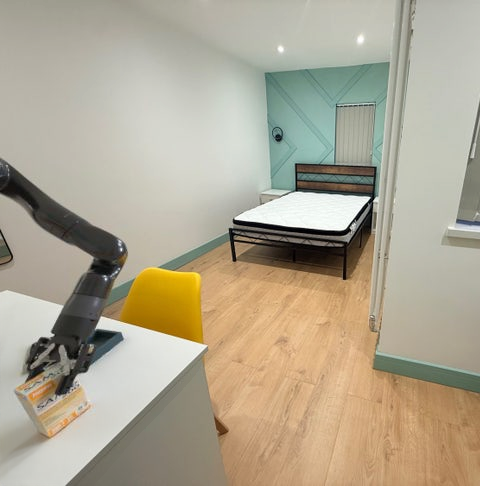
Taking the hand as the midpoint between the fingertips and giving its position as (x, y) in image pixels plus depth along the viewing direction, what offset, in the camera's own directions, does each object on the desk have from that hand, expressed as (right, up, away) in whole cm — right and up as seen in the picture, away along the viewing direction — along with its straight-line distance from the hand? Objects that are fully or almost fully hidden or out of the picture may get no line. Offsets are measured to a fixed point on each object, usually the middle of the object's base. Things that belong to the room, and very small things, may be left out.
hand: (44, 391), depth 57 cm
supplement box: (0, -9, +5) cm, 10 cm away
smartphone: (-25, -2, +24) cm, 34 cm away
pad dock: (-11, -1, +24) cm, 27 cm away
